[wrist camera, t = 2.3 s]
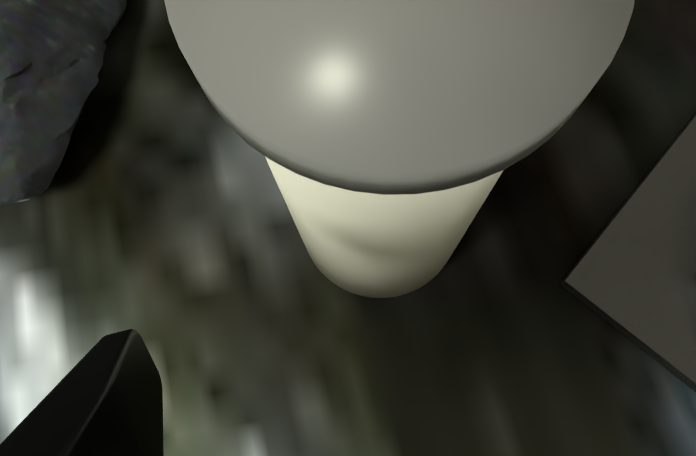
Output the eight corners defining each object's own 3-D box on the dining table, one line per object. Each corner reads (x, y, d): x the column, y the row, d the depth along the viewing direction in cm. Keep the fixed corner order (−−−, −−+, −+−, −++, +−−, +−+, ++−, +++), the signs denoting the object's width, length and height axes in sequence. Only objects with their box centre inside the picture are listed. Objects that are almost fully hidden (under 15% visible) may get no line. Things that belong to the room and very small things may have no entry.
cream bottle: (390, 350, 19) (431, 280, 7) (251, 229, 20) (65, -24, 8) (508, 210, 20) (732, -79, 8) (369, 102, 21) (370, -301, 9)
